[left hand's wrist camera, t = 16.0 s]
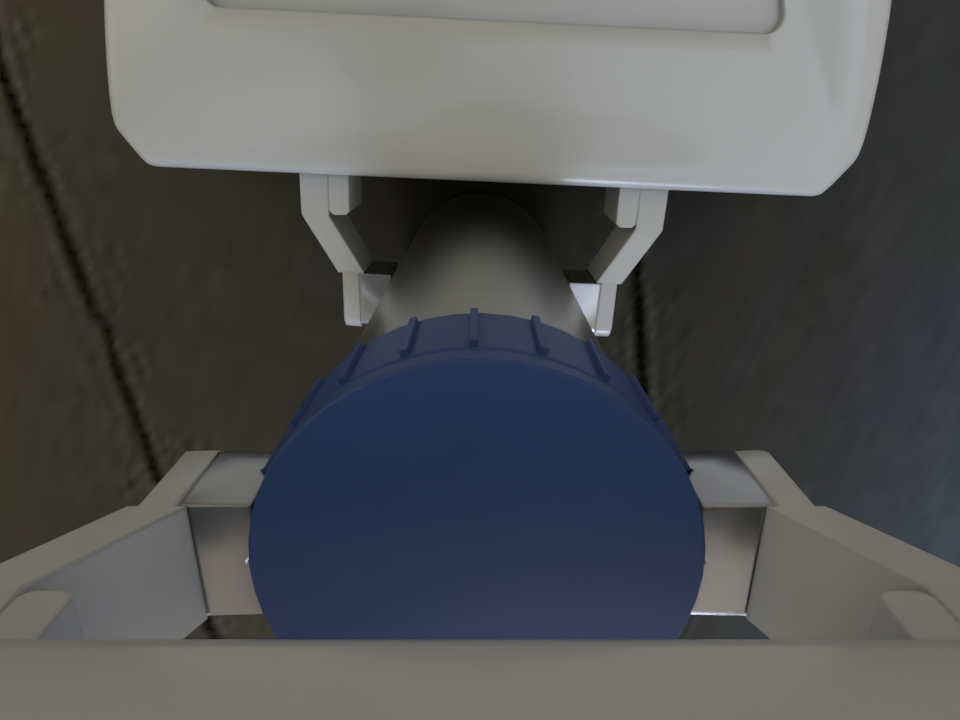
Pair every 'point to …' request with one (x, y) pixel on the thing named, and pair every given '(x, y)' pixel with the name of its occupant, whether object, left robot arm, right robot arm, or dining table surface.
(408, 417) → the lid
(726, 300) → the dining table surface
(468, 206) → the dark grey bottle
